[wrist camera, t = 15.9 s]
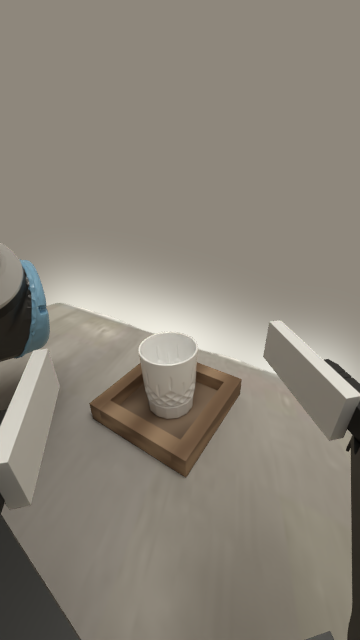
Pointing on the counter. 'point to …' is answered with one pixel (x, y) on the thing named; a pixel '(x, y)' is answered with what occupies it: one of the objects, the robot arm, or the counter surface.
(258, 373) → the counter surface
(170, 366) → the white cup
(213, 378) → the wooden tray
